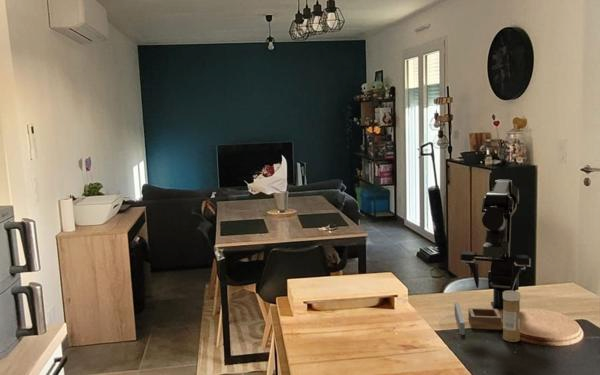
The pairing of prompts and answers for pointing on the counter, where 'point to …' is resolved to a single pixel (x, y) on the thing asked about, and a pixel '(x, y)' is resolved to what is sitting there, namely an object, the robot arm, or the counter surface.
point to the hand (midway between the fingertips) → (494, 289)
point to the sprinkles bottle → (511, 316)
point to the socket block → (484, 318)
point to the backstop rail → (459, 319)
